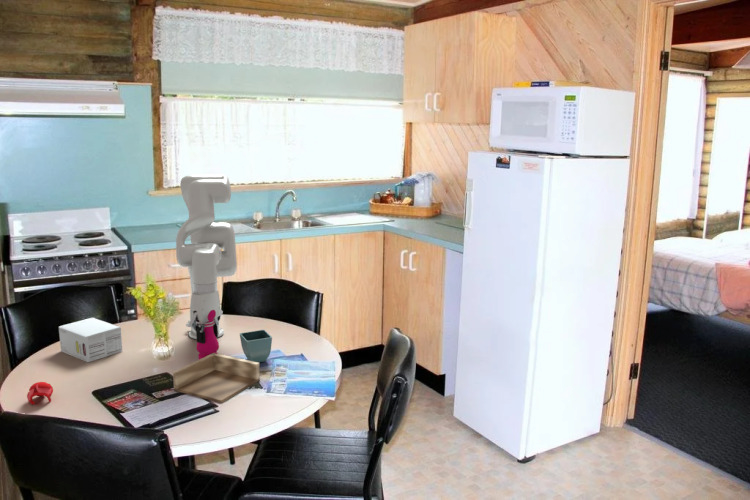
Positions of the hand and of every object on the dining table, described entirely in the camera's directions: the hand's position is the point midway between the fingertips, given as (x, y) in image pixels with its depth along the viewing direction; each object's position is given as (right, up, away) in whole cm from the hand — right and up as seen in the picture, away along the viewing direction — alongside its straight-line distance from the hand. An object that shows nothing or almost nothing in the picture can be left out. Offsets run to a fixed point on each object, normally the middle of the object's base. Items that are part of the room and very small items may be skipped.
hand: (207, 339), depth 207 cm
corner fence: (+7, -12, -16) cm, 21 cm away
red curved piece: (-40, -14, -28) cm, 51 cm away
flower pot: (+15, -8, +5) cm, 18 cm away
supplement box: (-43, -6, +11) cm, 45 cm away
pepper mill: (0, -7, +2) cm, 7 cm away
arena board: (+7, -12, -16) cm, 21 cm away
